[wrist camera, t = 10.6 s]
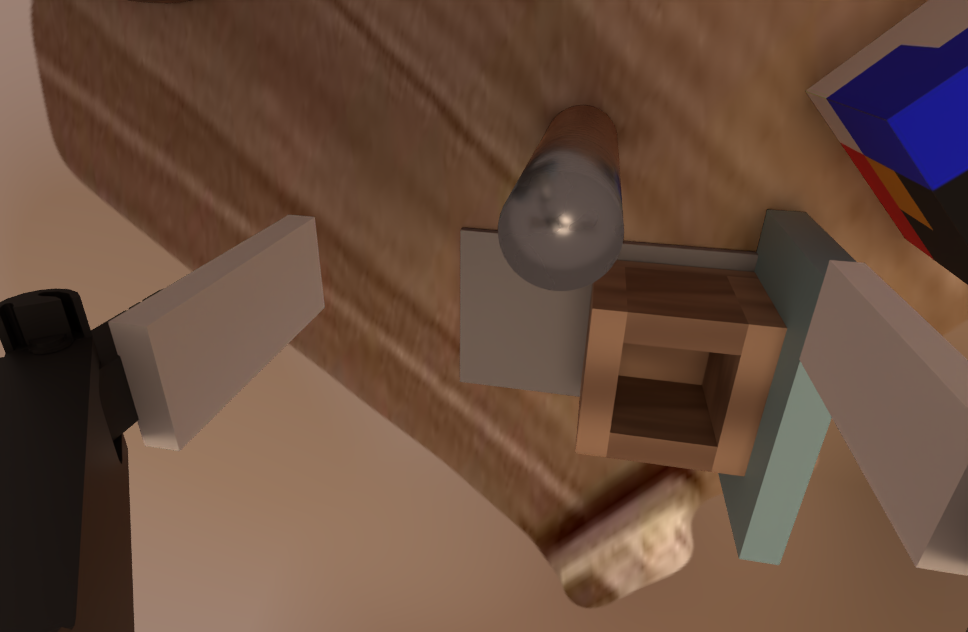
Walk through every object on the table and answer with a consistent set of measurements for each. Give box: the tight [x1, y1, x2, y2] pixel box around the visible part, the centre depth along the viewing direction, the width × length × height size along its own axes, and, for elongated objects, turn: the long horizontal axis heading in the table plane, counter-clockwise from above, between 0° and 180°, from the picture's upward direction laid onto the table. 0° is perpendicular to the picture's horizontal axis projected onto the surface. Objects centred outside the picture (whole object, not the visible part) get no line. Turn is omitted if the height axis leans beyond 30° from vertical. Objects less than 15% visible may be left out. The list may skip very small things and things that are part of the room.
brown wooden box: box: [575, 260, 787, 477], centre depth 33 cm, size 9×9×7 cm
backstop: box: [460, 209, 856, 565], centre depth 33 cm, size 16×19×10 cm
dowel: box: [498, 105, 624, 291], centre depth 26 cm, size 4×4×16 cm
